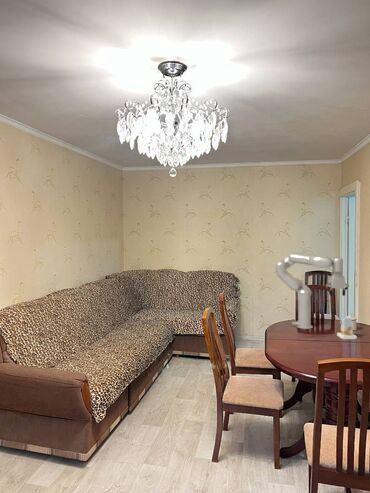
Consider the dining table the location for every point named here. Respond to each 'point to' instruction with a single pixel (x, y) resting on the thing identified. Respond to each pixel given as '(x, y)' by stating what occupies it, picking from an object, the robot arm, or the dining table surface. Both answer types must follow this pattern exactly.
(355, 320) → the teacup with lid
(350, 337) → the plinth
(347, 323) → the blue block
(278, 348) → the dining table surface
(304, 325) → the robot arm
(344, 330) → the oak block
